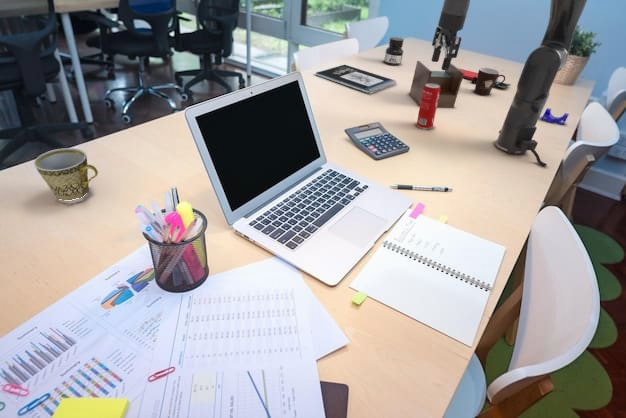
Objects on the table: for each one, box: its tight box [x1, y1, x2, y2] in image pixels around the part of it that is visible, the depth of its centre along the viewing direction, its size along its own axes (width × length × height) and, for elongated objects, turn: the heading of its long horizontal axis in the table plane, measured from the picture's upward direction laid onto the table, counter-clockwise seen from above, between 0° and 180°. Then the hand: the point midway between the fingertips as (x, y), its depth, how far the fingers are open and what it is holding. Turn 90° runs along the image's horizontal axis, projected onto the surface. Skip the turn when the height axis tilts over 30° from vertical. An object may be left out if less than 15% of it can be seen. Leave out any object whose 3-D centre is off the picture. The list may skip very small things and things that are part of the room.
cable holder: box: [541, 107, 570, 126], centre depth 154 cm, size 8×4×4 cm, turn 52°
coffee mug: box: [473, 67, 506, 97], centre depth 172 cm, size 12×9×10 cm
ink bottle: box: [383, 36, 404, 66], centre depth 199 cm, size 10×9×12 cm
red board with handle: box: [457, 67, 511, 89], centre depth 190 cm, size 30×3×15 cm
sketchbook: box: [315, 64, 397, 95], centre depth 176 cm, size 22×30×2 cm
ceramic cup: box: [33, 147, 99, 205], centre depth 89 cm, size 13×10×10 cm
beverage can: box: [416, 83, 440, 130], centre depth 137 cm, size 6×6×15 cm
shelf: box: [409, 60, 464, 109], centre depth 159 cm, size 14×14×14 cm
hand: (439, 65), depth 128 cm, fingers open, 8 cm apart
